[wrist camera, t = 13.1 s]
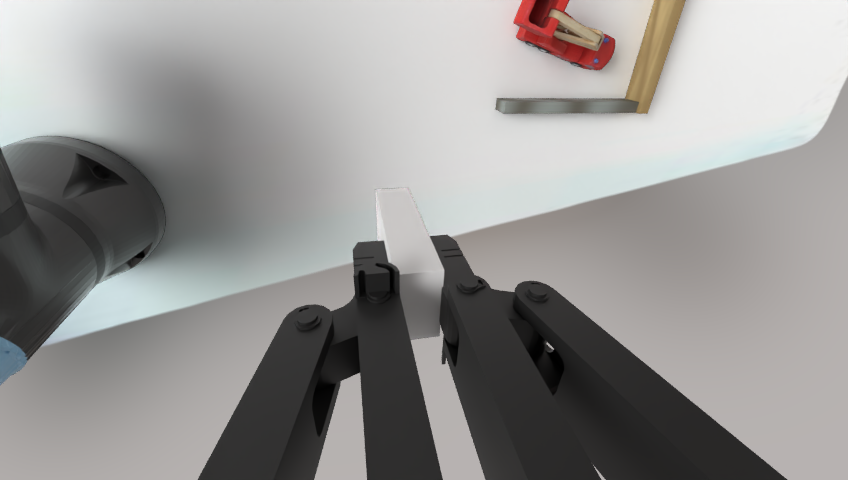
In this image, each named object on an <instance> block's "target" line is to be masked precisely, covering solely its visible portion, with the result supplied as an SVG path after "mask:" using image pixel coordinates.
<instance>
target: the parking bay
mask: <svg viewBox="0 0 848 480" xmlns="http://www.w3.org/2000/svg"><path fill="white" fill-rule="evenodd" d="M684 3H685V0H655V1H654V4H653V7H652V10H651V14H650V17H649V20H648V24H647V27H646V30H645V34H644V37H643V40H642V44H641V47H640V50H639V54H638V57H637V60H636V64H635V67H634V70H633V74H632V77H631V80H630V84H629V87H628V90H627V94H626V97H625V99H556V98H497V102H496V110H498V111H500V112H502V113H504V114H516V113H639V114H641V113H648V110H649V107H650V104H651V101H652V98H653V95H654V92H655V89H656V86H657V84H658V81H659V78H660V75H661V72H662V69H663V66H664V63H665V60H666V57H667V54H668V51H669V48H670V45H671V42H672V39H673V36H674V33H675V30H676V27H677V24H678V21H679V18H680V15H681V12H682V9H683V6H684Z"/></svg>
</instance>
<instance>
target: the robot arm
mask: <svg viewBox="0 0 848 480" xmlns="http://www.w3.org/2000/svg"><path fill="white" fill-rule="evenodd" d="M376 213H377V239H378V241H371V242H358V243H357V245H356V246H355V248H354V249H353V260H354V286H355V296H354V297H353V299H352V300H351V301H350V302H349V303H348V304H347V305H345V306H344V307H341V308H339V309H337V310H334V311H331V312H330V310H329V309H327V308H326V307H324V306H320V305H305V306H302V307H299V308H296V309H295V310H293V311H292V312H290V313H289V314H288V315H287V316H286V317H285V319H284V320H283V322H282V324H281V326H280V327H279V329H278V331H277V333H276V335H275V337H274V339H273V340H272V342H271V344H270V346H269V348H268V350H267V352H266V353H265V355H264V357H263V359H262V361H261V363H260V365H259V366H258V368H257V370H256V372H255V374H254V376H253V378H252V380H251V381H250V383H249V386H248V387H247V389H246V391H245V393H244V394H243V396H242V398H241V400H240V402H239V404H238V406H237V408H236V409H235V411H234V413H233V415H232V417H231V419H230V420H229V422H228V424H227V426H226V428H225V430H224V432H223V433H222V435H221V437H220V439H219V441H218V443H217V445H216V447H215V449H214V450H213V452H212V454H211V456H210V458H209V460H208V461H207V463H206V465H205V467H204V469H203V471H202V473H201V474H200V476H199V478H198V480H314V478H315V474H316V471H317V467H318V463H319V460H320V456H321V453H322V449H323V445H324V442H325V438H326V435H327V431H328V427H329V424H330V420H331V417H332V413H333V409H334V406H335V402H336V398H337V395H338V391H339V388H340V381H342V380H344V379H346V378H349V377H351V376H353V375H355V374H357V373H360V375H361V390H362V406H363V422H364V436H365V452H366V468H367V480H443V479H442V475H441V471H440V466H439V461H438V457H437V453H436V449H435V444H434V440H433V435H432V431H431V427H430V422H429V418H428V414H427V410H426V405H425V401H424V397H423V392H422V388H421V384H420V379H419V375H418V371H417V366H416V362H415V358H414V354H413V349H412V345H411V340H413V339H421V338H428V337H436V336H439V335H440V325H441V328H442V331H443V334H444V338H443V349H442V364H445V361H446V358H447V361H448V364H449V367H450V370H451V373H452V376H453V380H454V383H455V385H456V389H457V392H458V395H459V398H460V401H461V404H462V408H463V410H464V414H465V417H466V420H467V423H468V426H469V429H470V433H471V436H472V439H473V442H474V445H475V448H476V451H477V454H478V457H479V460H480V464H481V467H482V470H483V473H484V476H485V479H486V480H601V478H600V477H599V475H598V473H597V471H596V470H595V468H594V466H595V467H596V469H597V470H598V471H599V472H600V473H601V475H602V476H603V477H604V478H605V479H606V480H787V479H786V478H784V477H783V476H782V475H781V474H780V473H778V472H777V471H776V470H775V469H773V468H772V467H771V466H770V465H769V464H767V463H766V462H765V461H764V460H763V459H761V458H760V457H759V456H758V455H756V454H755V453H754V452H753V451H751V450H750V449H749V448H748V447H746V446H745V445H744V444H743V443H742V442H740V441H739V440H738V439H737V438H736V437H734V436H733V435H732V434H731V433H729V432H728V431H727V430H726V429H725V428H723V427H722V426H721V425H720V424H718V423H717V422H716V421H715V420H714V419H712V418H711V417H710V416H709V415H707V414H706V413H705V412H704V411H703V410H701V409H700V408H699V407H698V406H696V405H695V404H694V403H693V402H691V401H690V400H689V399H687V397H685V396H684V395H683V394H682V393H680V392H679V391H678V390H677V389H676V388H674V387H673V386H672V385H671V384H669V383H668V382H667V381H666V380H665V379H663V378H662V377H661V376H660V375H658V374H657V373H656V372H655V371H654V370H652V369H651V368H650V367H649V366H647V365H646V364H645V363H644V362H643V361H641V360H640V359H639V358H638V357H636V356H635V355H634V354H633V353H631V352H630V351H629V350H628V349H626V348H625V347H624V346H623V345H622V344H620V343H619V342H618V341H617V340H615V339H614V338H613V337H612V336H611V335H610V334H608V333H607V332H606V331H605V330H603V329H602V328H601V327H600V326H598V325H597V324H596V323H595V322H594V321H592V320H591V319H590V318H589V317H587V316H586V315H585V314H584V313H583V312H581V311H580V310H579V309H578V308H576V307H575V306H574V305H573V304H571V303H570V302H569V301H568V300H567V299H565V298H564V297H563V296H562V295H560V294H559V293H558V292H557V291H556V290H554V289H553V288H551V287H550V286H548V285H546V284H543V283H541V282H537V281H525V282H522V283H520V284H518V285H517V287H516V288H515V292H507V291H499V290H494V289H491V288H490V286H489V284H488V283H487V282H486V281H485V280H484V279H482V278H480V277H479V276H475V275H474V273H473V272H472V270H471V268H470V266H469V264H468V263H467V261H466V259H465V257H464V256H463V253H462V251H461V250H460V248H459V246H458V244H457V242H456V241H455V240H454V239H452V238H451V237H449V236H448V235H440V236H429V234H428V231H427V229H426V227H425V224H424V222H423V220H422V217H421V215H420V213H419V210H418V208H417V206H416V204H415V201H414V199H413V197H412V194H411V192H410V190H409V188H390V189H376ZM164 230H165V212H164V208H163V205H162V202H161V200H160V198H159V196H158V194H157V192H156V191H155V189H154V188H153V186H152V185H151V184H150V182H149V181H148V180H147V179H146V178H145V177H144V176H143V175H142V174H141V173H140V172H139V171H138V170H137V169H136V168H135V167H133V166H132V165H131V164H130V163H128V162H127V161H125V160H124V159H122V158H121V157H119V156H118V155H116V154H114V153H112V152H110V151H108V150H106V149H104V148H102V147H99V146H97V145H94V144H91V143H88V142H85V141H81V140H77V139H72V138H67V137H58V136H41V137H33V138H28V139H24V140H21V141H18V142H15V143H12V144H10V145H7V146H4V147H2V148H0V385H1V384H2V383H3V382H4V381H5V380H6V379H8V377H10V376H11V375H14V374H15V373H16V372H18V371H20V370H21V369H22V368H23V367H24V365H25V364H26V363H27V361H28V360H29V359H30V357H31V356H32V355H33V354H34V353H35V352H36V351H37V350H38V349H39V347H40V346H41V345H42V344H43V343H44V342H45V341H46V340H47V339H48V338H49V336H50V335H51V334H52V333H53V332H54V331H55V330H56V329H57V328H58V326H59V325H60V324H61V323H62V322H63V321H64V320H65V319H66V318H67V317H68V315H69V314H70V313H71V312H72V311H73V310H74V309H75V308H76V307H77V306H78V304H79V303H80V302H81V301H82V300H83V299H84V298H85V297H86V296H87V294H88V293H89V292H90V291H91V290H92V289H93V288H94V287H95V286H96V285H97V284H99V283H101V282H103V281H105V280H107V279H110V278H112V277H114V276H116V275H118V274H120V273H123V272H125V271H127V270H129V269H131V268H133V267H135V266H137V265H138V264H140V263H141V262H142V261H143V260H145V259H146V258H147V257H148V256H149V255H150V253H151V252H152V251H153V250H154V249H155V247H156V246H157V245H158V244H159V242H160V240H161V239H162V236H163V234H164ZM547 342H548V343H549V344H550V345H551V346H552V347H553V348H554V350H552V349H551V348H550V347H549V346H548V345H547V344H546V343H547ZM591 462H592V463H591ZM593 465H594V466H593Z"/></svg>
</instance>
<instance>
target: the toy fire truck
mask: <svg viewBox="0 0 848 480" xmlns="http://www.w3.org/2000/svg"><path fill="white" fill-rule="evenodd" d="M568 2H569V0H522V2H521V5H520V7H519V10H518V12H517V15H516V17H515V19H514V24H516V25H518V26H520V28H519V31H518V33H517V35H516V38H517V39H519V40H521V41H525V43H526V44H528V45H530V46H533V47H537V46H538V49H539V50H540V51H543V52H546V53H549V52H550V54H552V55H554V56H557V57H559V58H561V59H563V60H565V61H569V62H570V63H571V64H572V65H575V66H578V67H582V68H584V69H590V70H591V69H593V70H601V69H602V68H603V67H604V66H605V65H606V64H607V63H608V62H609V60H610V59H611V57H612V55H613V53H614V49H615V39H614V38H612V37H610V36H608V35H606V34H603V32H601V31H599V30H596V29H592V28H588V27H585V26H583V25H581V24H580V23H578V22H577V21H575V20H574V19H573V18H572V17H571V16H569V15H568V14H567V13H566V12H564V11H565V9H566V6H567V4H568Z"/></svg>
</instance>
